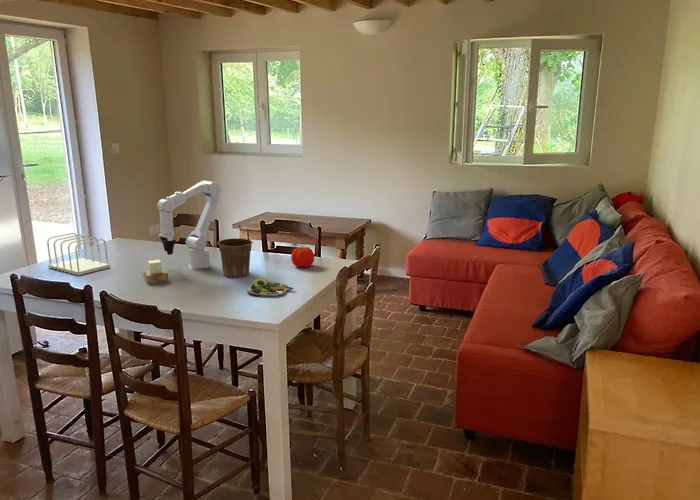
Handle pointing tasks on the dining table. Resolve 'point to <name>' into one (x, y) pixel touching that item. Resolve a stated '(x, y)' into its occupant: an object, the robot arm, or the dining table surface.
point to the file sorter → (78, 264)
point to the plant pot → (235, 257)
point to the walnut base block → (156, 277)
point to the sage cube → (155, 266)
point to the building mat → (171, 275)
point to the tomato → (302, 257)
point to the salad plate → (267, 288)
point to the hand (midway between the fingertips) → (168, 252)
